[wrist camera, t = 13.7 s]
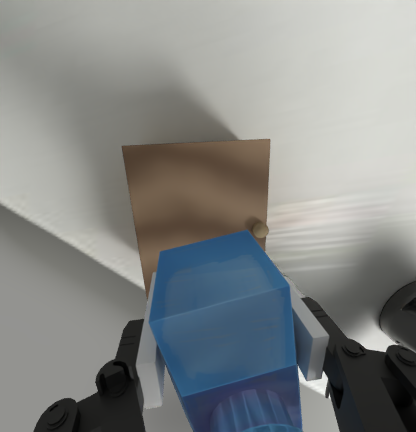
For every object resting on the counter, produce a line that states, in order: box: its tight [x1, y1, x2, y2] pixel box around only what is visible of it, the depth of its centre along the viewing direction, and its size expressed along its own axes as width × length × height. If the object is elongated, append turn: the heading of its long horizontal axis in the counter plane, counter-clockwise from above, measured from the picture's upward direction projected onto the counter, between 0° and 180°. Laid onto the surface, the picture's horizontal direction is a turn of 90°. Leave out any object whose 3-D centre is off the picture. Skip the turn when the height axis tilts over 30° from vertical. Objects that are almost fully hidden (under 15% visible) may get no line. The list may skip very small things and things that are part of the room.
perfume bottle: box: [148, 230, 303, 432], centre depth 11 cm, size 6×6×12 cm
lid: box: [122, 139, 270, 302], centre depth 24 cm, size 19×14×2 cm
